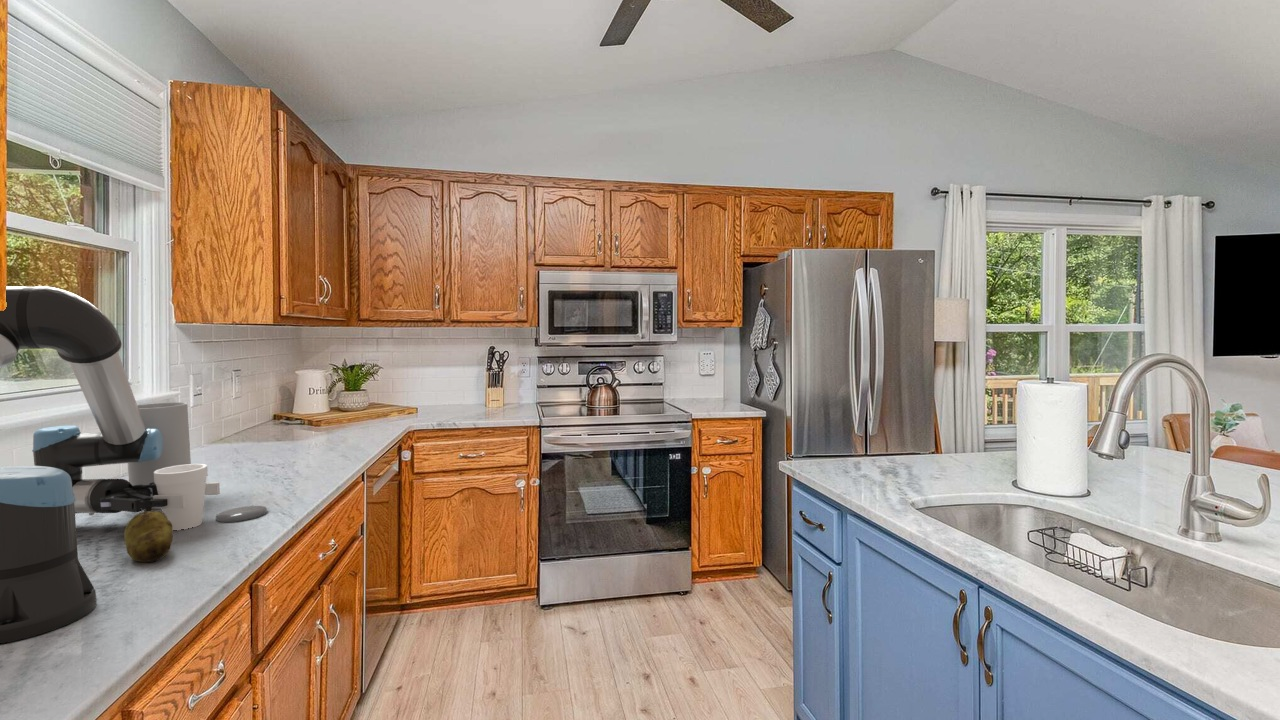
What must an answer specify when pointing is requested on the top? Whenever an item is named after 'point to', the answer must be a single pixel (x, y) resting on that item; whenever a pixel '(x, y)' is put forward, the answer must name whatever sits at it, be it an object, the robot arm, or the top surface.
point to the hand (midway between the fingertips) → (202, 494)
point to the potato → (148, 536)
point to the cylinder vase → (175, 440)
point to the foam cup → (183, 492)
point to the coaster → (241, 513)
